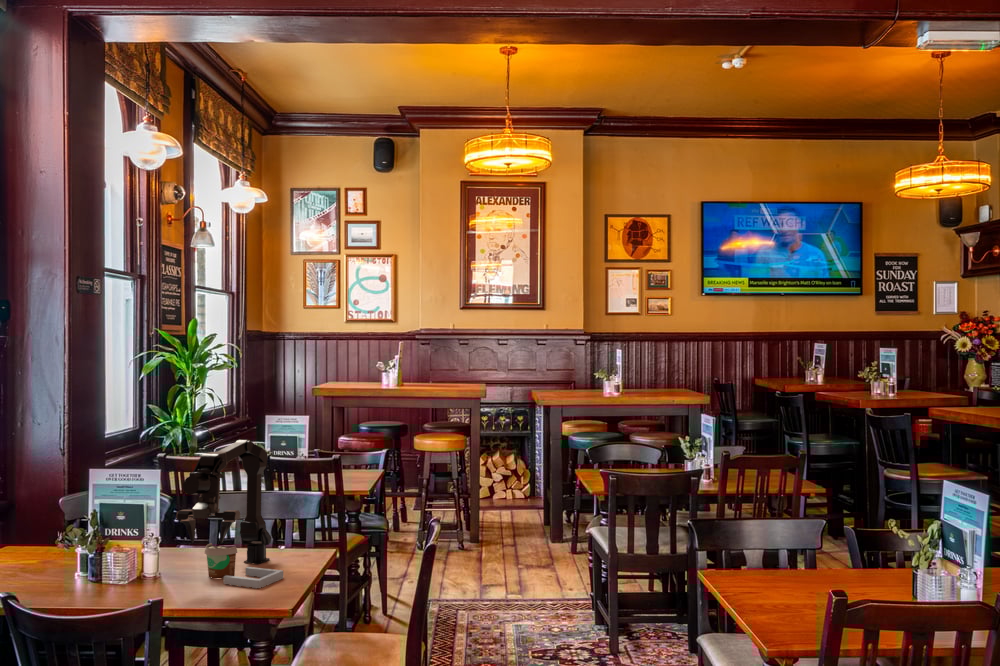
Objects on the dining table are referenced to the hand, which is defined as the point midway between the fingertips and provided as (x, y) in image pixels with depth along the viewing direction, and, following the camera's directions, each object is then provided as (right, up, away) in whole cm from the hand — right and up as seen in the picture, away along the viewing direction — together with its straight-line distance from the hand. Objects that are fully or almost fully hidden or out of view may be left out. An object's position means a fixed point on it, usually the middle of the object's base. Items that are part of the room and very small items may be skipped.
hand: (206, 542), depth 254 cm
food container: (0, -14, +9) cm, 17 cm away
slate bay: (+13, -13, +4) cm, 19 cm away
